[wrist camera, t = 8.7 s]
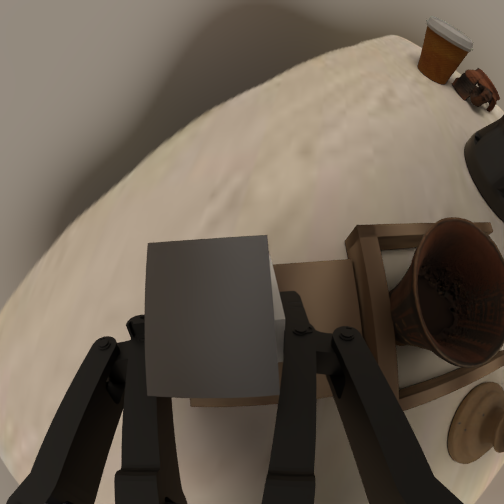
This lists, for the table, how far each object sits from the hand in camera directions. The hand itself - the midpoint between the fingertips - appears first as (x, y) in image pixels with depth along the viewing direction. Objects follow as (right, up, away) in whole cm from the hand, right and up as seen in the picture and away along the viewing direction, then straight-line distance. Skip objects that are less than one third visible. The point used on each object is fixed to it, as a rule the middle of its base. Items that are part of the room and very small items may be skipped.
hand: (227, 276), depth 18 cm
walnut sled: (+11, -4, +2) cm, 12 cm away
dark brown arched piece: (+44, +31, +15) cm, 56 cm away
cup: (+14, -4, +2) cm, 15 cm away
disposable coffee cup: (+35, +35, +17) cm, 52 cm away
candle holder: (+24, -16, -2) cm, 29 cm away
